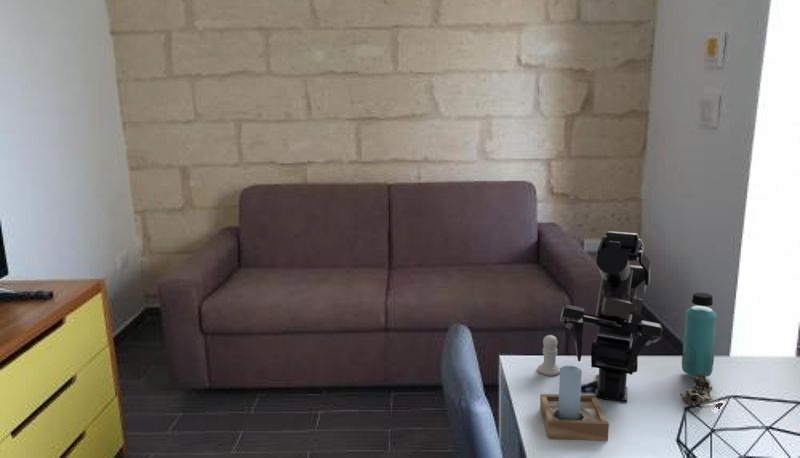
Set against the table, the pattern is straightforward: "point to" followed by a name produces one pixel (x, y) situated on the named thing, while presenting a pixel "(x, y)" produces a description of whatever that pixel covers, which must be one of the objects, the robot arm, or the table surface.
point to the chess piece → (549, 357)
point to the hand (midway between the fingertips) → (603, 366)
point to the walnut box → (585, 428)
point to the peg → (569, 393)
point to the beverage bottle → (699, 336)
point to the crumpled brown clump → (701, 393)
